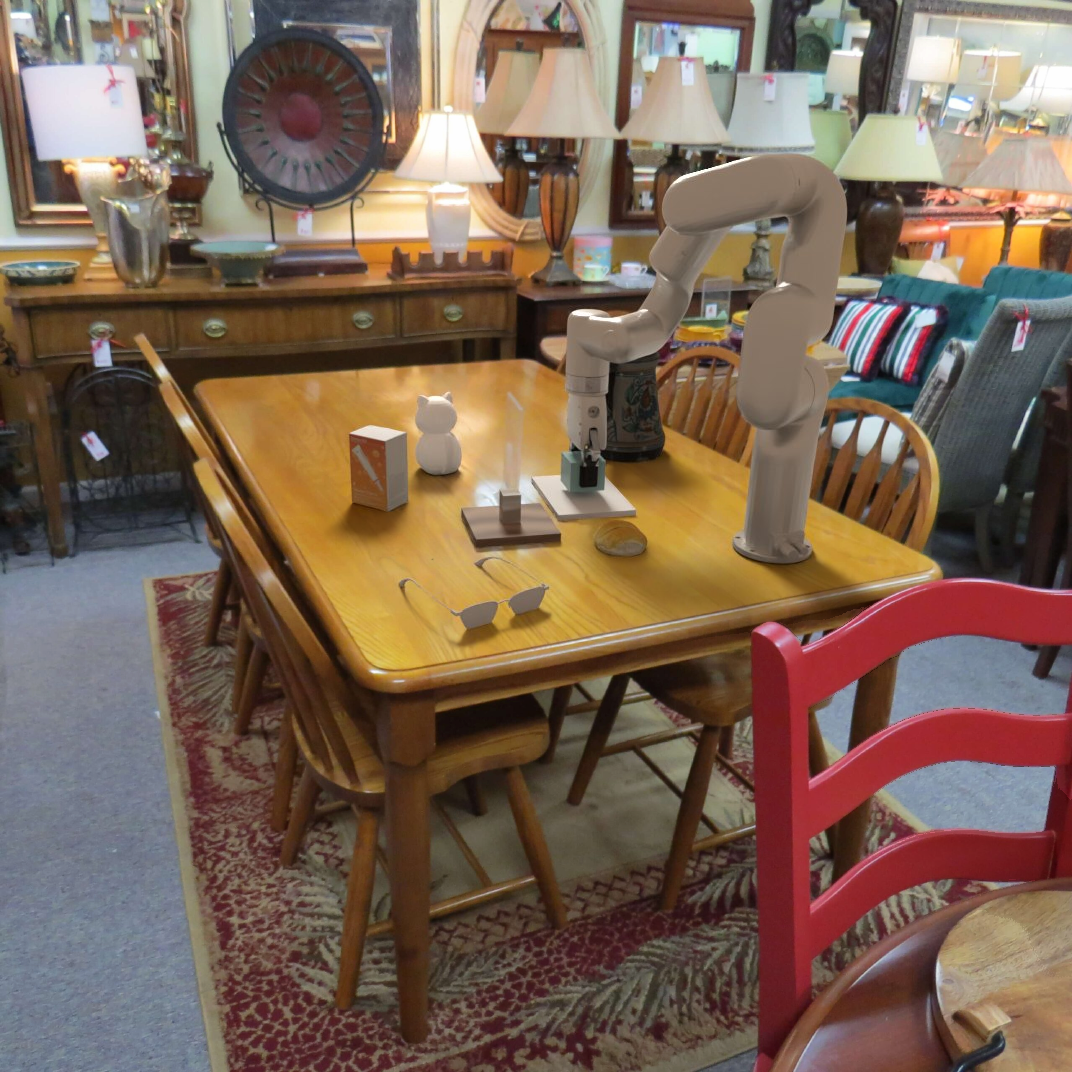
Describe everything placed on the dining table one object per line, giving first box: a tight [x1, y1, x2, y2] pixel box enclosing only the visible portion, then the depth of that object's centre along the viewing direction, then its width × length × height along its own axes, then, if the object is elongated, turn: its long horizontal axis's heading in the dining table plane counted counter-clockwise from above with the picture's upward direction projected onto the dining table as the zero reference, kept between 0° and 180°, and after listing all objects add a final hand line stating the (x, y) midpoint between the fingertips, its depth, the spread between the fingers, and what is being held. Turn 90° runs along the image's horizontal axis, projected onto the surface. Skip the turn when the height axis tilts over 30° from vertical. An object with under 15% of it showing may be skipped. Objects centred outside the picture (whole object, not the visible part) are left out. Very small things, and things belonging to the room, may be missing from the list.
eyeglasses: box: [398, 556, 550, 630], centre depth 141 cm, size 15×18×4 cm
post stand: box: [460, 488, 562, 549], centre depth 163 cm, size 14×14×6 cm
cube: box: [560, 451, 607, 492], centre depth 177 cm, size 6×6×6 cm
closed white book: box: [530, 474, 637, 522], centre depth 179 cm, size 20×14×1 cm
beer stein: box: [586, 351, 666, 464], centre depth 199 cm, size 16×19×25 cm
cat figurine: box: [414, 391, 463, 476], centre depth 188 cm, size 9×12×15 cm
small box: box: [348, 424, 409, 513], centre depth 172 cm, size 8×6×13 cm
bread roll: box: [593, 519, 648, 557], centre depth 158 cm, size 8×9×4 cm
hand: (582, 479), depth 177 cm, fingers closed on cube, 6 cm apart
